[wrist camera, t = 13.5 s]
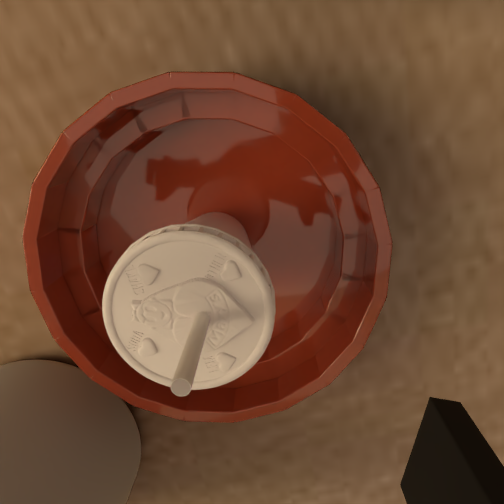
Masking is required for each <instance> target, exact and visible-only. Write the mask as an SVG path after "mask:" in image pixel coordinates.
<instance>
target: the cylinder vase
mask: <svg viewBox="0 0 504 504" xmlns="http://www.w3.org/2000/svg"><path fill="white" fill-rule="evenodd" d="M140 460H141V440H140V434H139V430H138V427H137V424H136V422H135V419H134V417H133V415H132V413H131V411H130V410H129V408H128V407H127V405H126V404H125V402H124V401H123V400H122V399H121V398H120V397H118V396H117V395H115V394H113V393H112V392H110V391H109V390H107V389H105V388H104V387H102V386H100V385H99V384H97V383H96V382H94V381H92V380H91V379H90V378H89V377H88V376H87V375H86V374H85V373H84V372H83V371H82V370H81V369H80V368H78V367H75V366H72V365H69V364H65V363H61V362H57V361H50V360H22V361H16V362H11V363H7V364H4V365H1V366H0V504H126V503H127V500H128V498H129V495H130V492H131V489H132V486H133V484H134V481H135V478H136V475H137V473H138V469H139V465H140Z"/></svg>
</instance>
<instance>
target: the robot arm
mask: <svg viewBox="0 0 504 504" xmlns="http://www.w3.org/2000/svg"><path fill="white" fill-rule="evenodd" d="M400 485H401V488H402V491H403V494H404V496H405V499H406V502H407V504H504V466H503V465H502V463H501V462H500V460H499V459H498V457H497V456H496V454H495V453H494V451H493V450H492V449H491V447H490V446H489V444H488V443H487V441H486V440H485V438H484V437H483V435H482V434H481V432H480V431H479V429H478V428H477V426H476V425H475V423H474V422H473V420H472V419H471V417H470V416H469V414H468V413H467V411H466V410H465V408H464V407H463V406H462V404H461V403H460V402H456V401H450V400H444V399H438V398H432V397H430V398H429V401H428V404H427V407H426V410H425V413H424V416H423V419H422V422H421V425H420V428H419V431H418V434H417V437H416V440H415V443H414V446H413V449H412V452H411V455H410V457H409V460H408V463H407V466H406V469H405V472H404V475H403V478H402V481H401V484H400Z"/></svg>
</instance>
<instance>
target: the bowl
mask: <svg viewBox="0 0 504 504" xmlns="http://www.w3.org/2000/svg"><path fill="white" fill-rule="evenodd" d="M210 212H221V213H225V214H228V215H230V216H232V217H234V218H235V219H237V220H238V221H239V222H240V223H241V224H242V226H243V227H244V229H245V231H246V233H247V236H248V239H249V242H250V244H251V247H252V250H253V252H254V253H255V254H256V255H257V256H258V258H259V259H260V261H261V262H262V264H263V265H264V267H265V268H266V270H267V271H268V274H269V276H270V279H271V282H272V285H273V288H274V291H275V308H276V313H275V321H274V328H273V332H272V336H271V339H270V342H269V344H268V346H267V348H266V350H265V352H264V353H263V355H262V356H261V358H260V359H259V360H258V361H257V363H256V364H255V365H254V366H253V367H252V368H251V369H249V370H248V371H247V372H246V373H245V374H243V375H242V376H240V377H239V378H237V379H235V380H233V381H231V382H229V383H226V384H224V385H221V386H218V387H214V388H209V389H201V390H191V391H190V393H189V394H188V395H186V396H177V395H175V394H174V393H173V392H172V391H171V388H170V387H168V386H165V385H162V384H159V383H157V382H154V381H152V380H150V379H148V378H146V377H145V376H143V375H141V374H140V373H139V372H137V371H136V370H134V369H133V368H132V367H131V366H130V365H129V364H128V363H127V362H126V361H125V360H124V359H123V358H122V357H121V356H120V354H119V353H118V352H117V350H116V349H115V347H114V346H113V344H112V342H111V340H110V338H109V336H108V334H107V331H106V328H105V325H104V320H103V313H102V299H103V292H104V288H105V284H106V281H107V279H108V276H109V274H110V272H111V270H112V269H113V267H114V266H115V264H116V263H117V261H118V260H119V258H120V257H121V256H122V255H123V254H124V252H125V251H126V250H127V249H128V248H129V246H130V245H131V244H132V243H134V242H135V241H137V240H138V239H140V238H141V237H143V236H144V235H146V234H147V233H149V232H151V231H154V230H157V229H160V228H163V227H166V226H169V225H177V224H185V223H187V222H189V221H191V220H193V219H195V218H197V217H199V216H201V215H203V214H206V213H210ZM22 237H23V238H22V239H23V246H24V253H25V260H26V267H27V273H28V280H29V287H30V291H31V294H32V296H33V298H34V300H35V302H36V304H37V306H38V308H39V310H40V312H41V314H42V316H43V318H44V320H45V322H46V324H47V326H48V328H49V331H50V333H51V335H52V337H53V339H55V341H56V343H57V344H58V345H59V346H60V347H61V348H62V349H63V350H64V351H65V352H66V353H67V355H68V356H69V357H70V358H71V359H72V360H73V361H74V362H75V363H76V364H77V365H78V367H79V368H80V369H81V370H82V371H83V372H84V373H85V374H86V375H87V376H88V377H89V378H90V379H91V380H92V381H94V382H96V383H97V384H99V385H100V386H102V387H104V388H105V389H107V390H109V391H110V392H112V393H113V394H115V395H117V396H118V397H120V398H121V399H123V400H125V401H126V402H128V403H129V404H131V405H133V406H134V405H135V407H138V408H141V409H144V410H148V411H151V412H154V413H158V414H161V415H164V416H168V417H171V418H174V419H178V420H181V421H190V422H226V423H234V422H240V421H244V420H248V419H252V418H256V417H260V416H264V415H268V414H272V413H276V412H280V411H284V410H286V409H288V408H290V407H291V406H293V405H295V404H297V403H298V402H300V401H302V400H304V399H305V398H307V397H309V396H310V395H312V394H314V393H316V392H317V391H319V390H321V389H323V388H324V387H326V386H328V384H329V385H330V384H331V382H332V381H333V380H334V379H335V378H336V377H337V376H338V375H339V374H340V373H341V372H342V371H343V370H344V368H345V367H346V366H347V365H348V364H349V363H350V362H351V361H352V360H353V359H354V358H355V357H356V356H357V354H358V353H359V352H360V351H361V350H362V349H363V348H364V346H365V344H366V342H367V340H368V338H369V335H370V333H371V331H372V329H373V327H374V325H375V322H376V320H377V318H378V316H379V314H380V312H381V309H382V307H383V305H384V303H385V301H386V298H387V292H388V283H389V273H390V264H391V254H392V243H393V242H392V238H391V234H390V229H389V225H388V221H387V216H386V212H385V208H384V203H383V199H382V195H381V190H380V187H379V185H378V183H377V182H376V180H375V179H374V177H373V175H372V174H371V172H370V171H369V169H368V167H367V166H366V164H365V163H364V161H363V160H362V158H361V156H360V155H359V153H358V152H357V150H356V148H355V147H354V145H353V144H352V142H351V140H350V139H349V137H348V136H347V135H346V133H344V132H343V131H342V130H341V129H339V128H338V127H337V126H336V125H334V124H333V123H332V122H331V121H329V120H328V119H327V118H326V117H324V116H323V115H322V114H321V113H320V112H318V111H317V110H316V109H315V108H313V107H312V106H311V105H310V104H308V103H307V102H306V101H305V100H303V99H302V98H301V97H300V96H298V95H296V94H295V93H292V92H289V91H286V90H283V89H281V88H278V87H275V86H272V85H270V84H267V83H264V82H261V81H258V80H256V79H253V78H250V77H247V76H244V75H242V74H239V73H234V72H167V73H164V74H161V75H158V76H155V77H152V78H149V79H147V80H144V81H141V82H138V83H135V84H132V85H129V86H126V87H124V88H121V89H118V90H115V91H112V92H110V93H109V94H107V95H106V96H105V97H104V98H102V99H101V100H100V101H99V102H97V103H96V104H95V105H94V106H93V107H91V108H90V109H89V110H88V111H86V112H85V113H84V114H83V115H82V116H80V117H79V118H78V119H77V120H75V121H74V122H73V123H72V124H71V125H69V126H68V127H67V128H66V129H65V130H64V131H63V132H62V133H61V135H60V136H59V138H58V140H57V141H56V143H55V145H54V146H53V148H52V150H51V152H50V153H49V155H48V157H47V158H46V160H45V162H44V164H43V165H42V167H41V169H40V170H39V172H38V174H37V175H36V177H35V179H34V182H33V183H32V187H31V193H30V198H29V203H28V209H27V214H26V220H25V225H24V230H23V236H22Z"/></svg>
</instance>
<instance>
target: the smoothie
mask: <svg viewBox="0 0 504 504" xmlns="http://www.w3.org/2000/svg"><path fill="white" fill-rule="evenodd" d="M102 313H103V320H104V325H105V328H106V331H107V334H108V336H109V338H110V340H111V342H112V344H113V346H114V347H115V349H116V350H117V352H118V353H119V354H120V356H121V357H122V358H123V359H124V360H125V361H126V362H127V363H128V364H129V365H130V366H131V367H132V368H133V369H134V370H136V371H137V372H139V373H140V374H141V375H143V376H145V377H146V378H148V379H150V380H152V381H154V382H157V383H159V384H162V385H165V386H168V387H170V388H171V391H172V392H173V393H174V394H175V395H177V396H186V395H188V394H189V393H190V391H191V390H201V389H209V388H214V387H218V386H221V385H224V384H226V383H229V382H231V381H233V380H235V379H237V378H239V377H240V376H242V375H243V374H245V373H246V372H247V371H248V370H249V369H251V368H252V367H253V366H254V365H255V364H256V363H257V361H258V360H259V359H260V358H261V356H262V355H263V353H264V352H265V350H266V348H267V346H268V344H269V342H270V339H271V336H272V332H273V328H274V321H275V313H276V308H275V291H274V288H273V285H272V282H271V279H270V276H269V274H268V271H267V270H266V268H265V267H264V265H263V264H262V262H261V261H260V259H259V258H258V256H257V255H256V254H255V253H254V252H253V250H252V247H251V244H250V242H249V239H248V236H247V233H246V231H245V229H244V227H243V226H242V224H241V223H240V222H239V221H238V220H237V219H235V218H234V217H232V216H230V215H228V214H225V213H221V212H210V213H206V214H203V215H201V216H199V217H197V218H195V219H193V220H191V221H189V222H187V223H185V224H177V225H169V226H166V227H163V228H160V229H157V230H154V231H151V232H149V233H147V234H146V235H144V236H143V237H141V238H140V239H138V240H137V241H135V242H134V243H132V244H131V245H130V246H129V248H128V249H127V250H126V251H125V252H124V254H123V255H122V256H121V257H120V258H119V260H118V261H117V263H116V264H115V266H114V267H113V269H112V270H111V272H110V274H109V276H108V279H107V281H106V284H105V288H104V292H103V299H102Z"/></svg>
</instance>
